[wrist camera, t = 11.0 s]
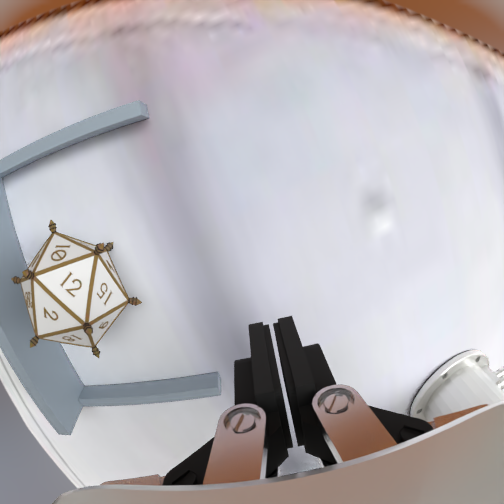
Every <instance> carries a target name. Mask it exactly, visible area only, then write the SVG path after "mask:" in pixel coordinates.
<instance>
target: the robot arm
mask: <svg viewBox="0 0 504 504" xmlns="http://www.w3.org/2000/svg"><path fill="white" fill-rule="evenodd" d="M273 326H274V331H275V336H276V341H277V346H278V352H279V357H280V362H281V367H282V373H283V378H284V383H285V387H286V392H287V397H288V401H289V406H290V410H291V415H292V420H293V424H294V429H295V434H296V438H297V443H298V446H302V445H304V447H305V451H306V453H309V454H311V455H313V456H316V457H318V461H319V464H320V466H321V468H318V469H314V470H310V471H305V472H300V473H295V474H290V475H284V476H280V473H281V470H280V465H281V464H282V463H283V462H284V460H285V459H286V458H287V457H289V456H288V450H287V448H292V447H293V444H292V439H291V434H290V429H289V424H288V419H287V413H286V408H285V403H284V398H283V393H282V388H281V383H280V378H279V373H278V368H277V363H276V358H275V353H274V349H273V344H272V339H271V334H270V329H269V325H264V326H263V322H260V323H255V324H250V325H249V336H250V348H251V358H246V359H240V360H235V362H234V386H235V406H232V407H230V408H229V409H227V410H226V411H225V412H224V413H223V414H222V415H221V416H220V419H219V421H218V425H217V429H216V433H215V437H213V438H212V439H211V440H210V441H208V442H207V443H206V444H205V445H203V446H202V447H201V448H200V449H198V450H197V451H196V452H194V453H193V454H192V455H191V456H189V457H188V458H187V459H185V460H184V461H183V462H181V463H180V464H178V465H177V466H176V467H174V468H173V469H172V470H171V471H169V472H168V473H167V474H166V476H163V477H160V476H159V475H158V474H157V475H152V476H145V477H139V478H132V479H124V480H115V481H108V482H104V483H102V484H101V485H98V486H88V487H83V488H78V489H74V490H71V491H68V492H66V493H63V494H62V495H60V496H59V497H58V498H57V499H56V500H55V501H54V502H53V503H52V504H504V391H503V390H502V389H504V366H503V367H502V368H500V369H498V370H497V371H496V372H493V371H492V370H491V369H490V368H489V360H488V358H487V356H486V355H485V354H484V353H482V352H481V351H479V350H470V351H466V352H463V353H461V354H459V355H457V356H456V357H454V358H452V359H451V360H449V361H448V362H447V363H445V364H444V365H443V366H442V367H440V368H439V369H438V370H437V371H436V372H435V373H434V374H433V375H432V376H431V377H430V378H429V379H428V380H427V382H426V383H425V384H424V385H423V387H422V388H421V389H420V391H419V392H418V394H417V396H416V397H415V399H414V402H413V404H412V407H411V410H410V416H406V415H402V414H398V413H394V412H390V411H387V410H383V409H379V408H375V407H372V406H368V405H367V404H366V402H365V401H364V400H363V398H362V397H361V396H360V394H359V393H358V392H357V391H356V390H355V389H354V388H352V387H350V386H347V385H336V382H335V380H334V378H333V375H332V373H331V371H330V368H329V366H328V364H327V361H326V359H325V357H324V354H323V352H322V350H321V347H320V345H319V344H314V345H309V346H305V347H302V344H301V341H300V338H299V335H298V332H297V330H296V327H295V324H294V321H293V318H292V316H289V317H284V318H280V319H278V323H274V324H273Z"/></svg>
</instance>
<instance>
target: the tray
mask: <svg viewBox="0 0 504 504" xmlns="http://www.w3.org/2000/svg"><path fill="white" fill-rule="evenodd" d="M148 118H149V115H148V109H147V105H146V104H144V103H143V102H141V101H139V100H138V101H135V102H132V103H129V104H126V105H123V106H120V107H117V108H114V109H111V110H109V111H106V112H103V113H100V114H98V115H95V116H92V117H90V118H87V119H85V120H82V121H80V122H77V123H75V124H73V125H70V126H68V127H66V128H63V129H61V130H59V131H57V132H54V133H52V134H50V135H48V136H46V137H44V138H41V139H39V140H37V141H35V142H33V143H31V144H29V145H27V146H25V147H23V148H22V149H20V150H18V151H16V152H14V153H12V154H10V155H9V156H7V157H5V158H3V159H1V160H0V348H1V349H2V351H3V353H4V355H5V357H6V358H7V360H8V362H9V364H10V365H11V367H12V369H13V370H14V372H15V374H16V375H17V377H18V378H19V380H20V382H21V383H22V385H23V386H24V388H25V389H26V391H27V392H28V394H29V395H30V397H31V398H32V400H33V401H34V402H35V404H36V405H37V407H38V408H39V409H40V411H41V412H42V413H43V415H44V416H45V417H46V419H47V420H48V421H49V423H50V424H51V425H52V427H53V428H54V429H55V430H56V432H57V433H58V434H61V435H71V433H72V431H73V428H74V426H75V423H76V421H77V419H78V416H79V414H80V412H81V410H82V407H83V406H119V405H137V404H151V403H162V402H172V401H181V400H190V399H197V398H205V397H212V396H218V395H221V379H220V377H219V374H218V372H215V373H208V374H202V375H195V376H189V377H181V378H174V379H166V380H157V381H148V382H138V383H127V384H114V385H98V386H84V385H83V383H82V381H81V380H80V378H79V376H78V375H77V373H76V371H75V370H74V368H73V366H72V364H71V362H70V361H69V359H68V357H67V355H66V353H65V351H64V349H63V348H62V346H61V344H60V342H54V341H49V340H43V339H39V340H38V343H37V344H36V346H34V347H31V348H30V340H31V339H32V338H33V337H34V336H35V333H34V330H33V326H32V323H31V320H30V317H29V313H28V310H27V306H26V303H25V299H24V295H23V292H22V288H21V284H20V283H19V284H16V283H15V284H14V282H13V281H12V280H11V278H13V277H14V276H17V277H19V278H20V279H21V278H22V276H23V273H22V272H23V271H24V270H26V269H28V268H27V265H26V263H25V260H24V257H23V254H22V251H21V248H20V245H19V241H18V238H17V235H16V232H15V228H14V225H13V221H12V218H11V214H10V210H9V206H8V202H7V198H6V193H5V189H4V184H3V179H2V177H4V176H6V175H8V174H10V173H12V172H14V171H16V170H18V169H20V168H22V167H24V166H26V165H28V164H30V163H32V162H34V161H36V160H38V159H40V158H43V157H45V156H47V155H49V154H52V153H54V152H56V151H59V150H61V149H63V148H66V147H68V146H71V145H73V144H76V143H78V142H81V141H83V140H86V139H88V138H91V137H94V136H96V135H99V134H102V133H105V132H108V131H110V130H113V129H116V128H119V127H122V126H125V125H128V124H132V123H135V122H138V121H141V120H145V119H148Z"/></svg>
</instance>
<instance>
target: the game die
mask: <svg viewBox="0 0 504 504" xmlns="http://www.w3.org/2000/svg"><path fill="white" fill-rule="evenodd" d="M48 227H49V228H50V229H49V230H51V232H52V234H51V235H50V237H49V238H48V239H47V241H46V242H45V244H44V245H43V246H42V248H41V249H40V251H39V252H38V254H37V255H36V257H35V258H34V259H33V261H32V262H31V264H30V265H29V267H28V269H26V270H24V271H23V272H22V273H23V276H22V278H21V279H20V278H19V277H17V276H14V277H13V278H11V280H12V281H13V282H14V284H15V283H16V284H19V283H20V284H21V288H22V292H23V295H24V299H25V303H26V306H27V310H28V313H29V317H30V320H31V323H32V326H33V330H34V333H35V336H34V337H33V338H32V339H31V340H30V348H31V347H34V346H36V344H37V343H38V340H39V339H43V340H49V341H54V342H60V343H66V344H72V345H78V346H85V347H92V352H93V355H95V356H96V357H98V358H99V354H100V351H99V350H98V348H97V347H96V345H97V343H98V342H99V341H100V339H101V338H102V337H103V335H104V334H105V333H106V331H107V330H108V329H109V327H110V326H111V325H112V324H113V322H114V321H115V320H116V318H117V317H118V316H119V314H120V313H121V312H122V311H123V309H124V308H125V307H126V306H127V304H128V303H130V304H132V305H135V306H136V305H138V304H140V303H142V302H141V301H140V300H138V299H137V297H136V298H134V297H133V298H129V297H128V295H127V293H126V291H125V289H124V287H123V285H122V282H121V280H120V278H119V276H118V274H117V272H116V269H115V267H114V265H113V263H112V260H111V258H110V256H109V253H108V251H111V249H113V242H112V243H107V245H106V246H105V247H104V243H102V244H101V243H100V244H96V245H93V244H90V243H87V242H84V241H81V240H78V239H75V238H72V237H69V236H66V235H64V234H61V233H58V232H56V228H57V227H56V224H55V223H54V222H53V221H52V220H51V221H50V224H49V226H48ZM104 248H105V249H104Z"/></svg>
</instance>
